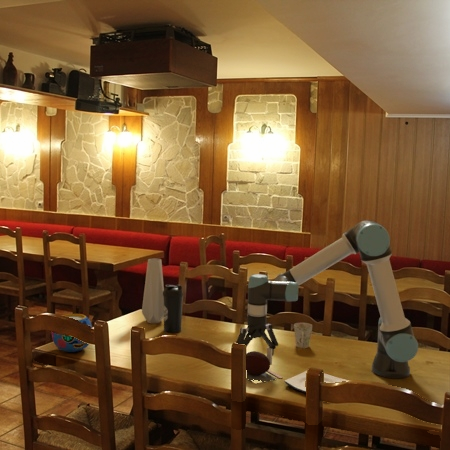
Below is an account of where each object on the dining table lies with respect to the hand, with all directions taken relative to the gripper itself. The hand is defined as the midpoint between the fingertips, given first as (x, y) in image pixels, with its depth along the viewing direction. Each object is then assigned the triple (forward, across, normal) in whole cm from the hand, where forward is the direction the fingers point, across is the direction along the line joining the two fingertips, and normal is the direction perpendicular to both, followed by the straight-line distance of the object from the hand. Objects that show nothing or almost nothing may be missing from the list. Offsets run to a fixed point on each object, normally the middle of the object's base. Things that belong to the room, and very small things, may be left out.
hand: (255, 366), depth 225 cm
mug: (+4, -39, -18) cm, 43 cm away
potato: (+3, 0, 0) cm, 3 cm away
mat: (+4, 0, 0) cm, 4 cm away
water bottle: (+4, +3, -68) cm, 69 cm away
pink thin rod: (+4, -8, 0) cm, 8 cm away
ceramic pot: (+4, +55, -62) cm, 83 cm away
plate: (+4, -15, +20) cm, 26 cm away
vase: (+4, +5, -88) cm, 88 cm away
